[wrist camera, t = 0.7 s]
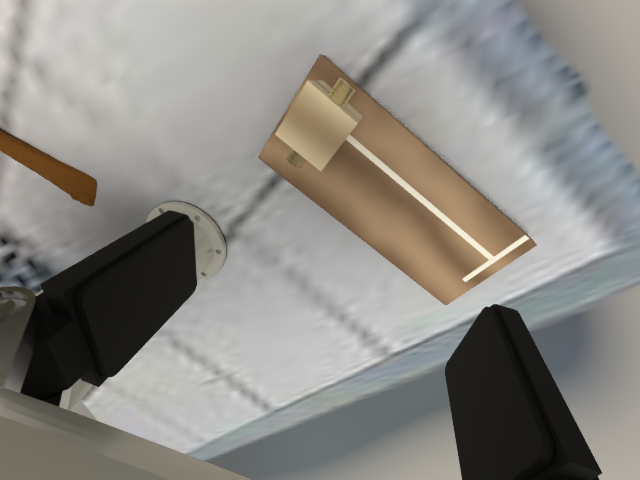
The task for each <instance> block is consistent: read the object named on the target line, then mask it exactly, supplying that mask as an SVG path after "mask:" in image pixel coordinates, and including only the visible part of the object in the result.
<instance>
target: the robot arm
mask: <svg viewBox="0 0 640 480" xmlns="http://www.w3.org/2000/svg"><path fill="white" fill-rule="evenodd" d="M225 259H226V244H225V240H224V237H223V235H222V233H221V231H220V229H219V228H218V227H217V225H216V224H215V222H214V221H213V220H212V219H211V218H210V217H209V216H208V215H206V214H205V213H204V212H203V211H201V210H200V209H198V208H196V207H194V206H192V205H189V204H187V203H183V202H166V203H163V204H161V205H159V206H157V207H156V208H154V209H153V210H152V211H151V212H150V213H149V214H148V217H147V219H146V223H145V224H144V225H142V226H140V227H138V228H137V229H135V230H133V231H132V232H130V233H128V234H126V235H125V236H123V237H121V238H119V239H118V240H116V241H114V242H113V243H111V244H109V245H107V246H106V247H104V248H102V249H100V250H99V251H97V252H95V253H94V254H92V255H90V256H88V257H87V258H85V259H83V260H82V261H80V262H78V263H76V264H75V265H73V266H71V267H69V268H68V269H66V270H64V271H63V272H61V273H59V274H57V275H56V276H54V277H52V278H50V279H49V280H47V281H45V282H44V283H42V284H40V285H41V287H42V290H41V291H40V292H39V293H38V294H37V295H35V294H34V292H33V291H32V290H30V289H28V288H25V287H18V286H8V287H0V480H251V479H249V478H246V477H243V476H241V475H238V474H236V473H233V472H230V471H228V470H225V469H222V468H220V467H217V466H215V465H212V464H209V463H206V462H204V461H202V460H199V459H196V458H194V457H191V456H189V455H186V454H183V453H181V452H178V451H175V450H173V449H170V448H167V447H165V446H162V445H159V444H157V443H154V442H152V441H149V440H146V439H144V438H141V437H138V436H136V435H133V434H130V433H128V432H125V431H122V430H120V429H117V428H114V427H112V426H109V425H106V424H104V423H101V422H98V421H96V420H93V419H91V418H88V417H85V416H83V415H80V414H77V413H74V412H72V410H73V409H74V407H75V406H76V404H77V403H78V402H79V401H80V399H81V398H82V397H83V396H84V395H85V393H86V392H87V391H88V390H89V389H90V387H91V386H92V385H95V386H98V387H99V386H100V385H101V384H102V383H103V382H104V381H105V380H106V379H107V378H108V377H113V376H114V375H116V374H117V373H118V372H119V371H120V370H121V369H122V368H123V367H124V366H125V365H126V364H127V363H128V362H129V361H130V360H131V358H132V357H133V356H134V355H135V354H136V353H137V352H138V351H139V350H140V349H141V348H142V347H143V346H144V345H145V344H146V343H147V342H148V341H149V339H150V338H151V337H152V336H153V335H154V334H155V333H156V332H157V331H158V330H159V329H160V328H161V327H162V326H163V325H164V324H165V323H166V321H167V320H168V319H169V318H170V317H171V316H172V315H173V314H174V313H175V312H176V311H177V310H178V309H179V308H180V307H181V306H182V305H183V303H184V302H185V301H186V300H187V299H188V298H189V297H190V296H191V295H192V294H193V293H194V291H195V289H196V286H197V278H198V279H200V278H207V277H210V276H212V275H213V274H215V273H216V272H217V271H218V270H219V269H220V268H221V267H222V265H223V264H224V261H225ZM445 376H446V382H447V389H448V395H449V401H450V407H451V413H452V419H453V425H454V431H455V438H456V444H457V450H458V456H459V463H460V469H461V475H462V480H599V478H598V475H600V474H601V473H602V472H601V470H600V468H599V466H598V464H597V462H596V460H595V458H594V456H593V455H592V453H591V451H590V449H589V447H588V445H587V443H586V441H585V439H584V437H583V435H582V433H581V431H580V429H579V428H578V426H577V424H576V422H575V420H574V418H573V416H572V414H571V412H570V410H569V408H568V406H567V404H566V402H565V400H564V399H563V397H562V395H561V393H560V391H559V389H558V387H557V385H556V383H555V381H554V379H553V378H552V375H551V373H550V372H549V370H548V368H547V366H546V364H545V362H544V360H543V358H542V356H541V354H540V352H539V350H538V349H537V347H536V345H535V343H534V341H533V339H532V337H531V335H530V333H529V331H528V329H527V327H526V325H525V323H524V321H523V320H522V318H521V316H520V314H519V312H518V311H516V310H514V309H511V308H507V307H504V306H500V305H497V304H493V305H492V306H491V307H485V308H484V309H483V310H482V311H481V313H480V314H479V316H478V317H477V319H476V320H475V322H474V323H473V325H472V326H471V328H470V329H469V331H468V332H467V334H466V335H465V337H464V338H463V340H462V341H461V343H460V344H459V346H458V347H457V349H456V350H455V352H454V353H453V354H452V356H451V357H450V359H449V360H448V362H447V364H446V368H445Z"/></svg>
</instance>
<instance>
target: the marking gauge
mask: <svg viewBox="0 0 640 480" xmlns="http://www.w3.org/2000/svg"><path fill="white" fill-rule="evenodd" d="M354 92H355V90H354V89H353V88H352V87H351V86H350V85H349V84H348V83H347V82H346V81H344V80H343V79H342V78H339V79H338V81H337V82H336V84H335V85H334V87H333V88H331V87H330V86H329V85H328V84H327V83H326V82H325V81H323V80H307V82H306V84H305V85H304V87H303V89H302V90H301V92H300V94H299V95H298V97H297V98H296V100H295V102H294V103H293V105H292V107H291V108H290V110H289V112H288V113H287V115H286V117H285V118H284V120H283V122H282V123H281V125H280V126H279V128H278V130H277V131H276V133H275V135H276V136H277V137H279V138H280V139H281V140H282V141H284V142H285V143H286V144H287V145H289V146H290V147H291V148H292V150H291V152H290V153H289V155H288V156H287V158H286V159H287V161H288V162H289V163H290V164H291V165H292V166H294V167H296V168H301V167H302V165H303V164H304V163H305V161H306V160H307V161H308V162H310V163H311V164H312V165H313V166H314V167H316V168H317V169H318V170H319V171H322V169H323V168H324V167H325V166H326V164H327V163H328V162H329V160H330V159H331V158H332V157H333V155H334V154H335V153H336V151H337V150H338V149H339V147H340V146H341V145H342V144H343V142H344V141H345V140H346V138H347V137H348V136H349V134H350V133H351V132H352V130H353V129H354V128H355V127H356V125H357V124H358V123H359V121H360V120H361V119H362V117H363V116H364V115H363V114H361V113H360V112H359V111H358V110H357V109H356V108H355V107H353V106H352V105H351V104H350V103H349V102H348V101H349V99H350V98H351V97H352V95H353V94H354Z"/></svg>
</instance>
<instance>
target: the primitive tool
mask: <svg viewBox="0 0 640 480" xmlns="http://www.w3.org/2000/svg"><path fill="white" fill-rule="evenodd" d="M0 151H2V152H3V153H5V154H6V155H8V156H10V157H11V158H13V159H15V160H16V161H18V162H20V163H21V164H23V165H25V166H26V167H28V168H29V169H31V170H33V171H35V172H36V173H38V174H39V175H41V176H42V177H44V178H45V179H47V180H49V181H50V182H52V183H53V184H55V185H56V186H58V187H59V188H60V189H62V190H64V191H65V192H66V193H68V194H70V196H71V197H72V199H74V200H78V201H80V202H81V203H82V204H85V205H89V206H93V205H94V201H95V197H96V190H97V181H96V180H95V179H94V178H92V177H90V176H89V175H87V174H85V173H83V172H81V171H79V170H77V169H75V168H73V167H70V166H68V165H66V164H64V163H62V162H60V161H58V160H56V159H54V158H52V157H51V156H49V155H46V154H44V153H42V152H41V151H39V150H37V149H35V148H33V147H31V146H29V145H27V144H25V143H24V142H22V141H20V140H18V139H15V138H13V137H11V136H9V135H8V134H6V133H4V132H2V131H1V130H0Z"/></svg>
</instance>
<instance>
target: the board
mask: <svg viewBox="0 0 640 480" xmlns="http://www.w3.org/2000/svg"><path fill="white" fill-rule="evenodd" d="M339 78H342V79H343V80H344V81H346V82H347V83H348V84H349V85H350V86H351V87H352V88H353V89H354V90H355V92H354V94H353V95H352V97H351V98H350V99H349V101H348V102H349V103H350V104H351V105H352V106H353V107H355V108H356V109H357V110H358V111H359V112H360V113H361V114H363V115H364V116H363V117H362V119H361V120H360V121H359V123H358V124H357V125H356V127H355V128H354V129H353V130H352V132H351V133H350V134H349V136H348V137H347V138H346V140H345V141H344V142H343V144H342V145H341V146H340V147H339V149H338V150H337V151H336V153H335V154H334V155H333V157H332V158H331V159H330V160H329V162H328V163H327V164H326V166H325V167H324V168H323V169H322V171H319V170H318V169H317V168H316V167H314V166H313V165H312V164H311V163H310V162H308V161H307V160H306V161H305V163H304V164H303V165H302V167H301V168H296V167H294V166H292V165H291V164H290V163H289V162H288V161H287V159H286V158H287V156H288V155H289V153H290V152H291V150H292V148H291V147H290V146H289V145H287V144H286V143H285V142H284V141H282V140H281V139H280V138H279V137H277V136H276V135H275V133H276V131H277V130H278V128H279V126H280V125H281V123H282V122H283V120H284V118H285V117H286V115H287V113H288V112H289V110H290V108H291V107H292V105H293V103H294V102H295V100H296V98H297V97H298V95H299V94H300V92H301V90H302V89H303V87H304V85H305V84H306V82H307V80H323V81H325V82H326V83H327V84H328V85H329V86H330V87H331V88H333V87H334V85H335V84H336V82H337V81H338V79H339ZM258 158H259V159H260V160H262V161H263V162H264V163H265V164H267V165H268V166H269V167H270V168H272V169H273V170H274V171H276V172H277V173H278V174H279V175H281V176H282V177H283V178H284V179H286V180H287V181H288V182H290V183H291V184H292V185H293V186H295V187H296V188H297V189H298V190H300V191H301V192H302V193H303V194H305V195H306V196H307V197H309V198H310V199H311V200H312V201H314V202H315V203H316V204H317V205H319V206H320V207H321V208H323V209H324V210H325V211H326V212H328V213H329V214H330V215H331V216H333V217H334V218H335V219H336V220H338V221H339V222H340V223H342V224H343V225H344V226H345V227H347V228H348V229H349V230H350V231H352V232H353V233H354V234H356V235H357V236H358V237H359V238H361V239H362V240H363V241H364V242H366V243H367V244H368V245H370V246H371V247H372V248H373V249H375V250H376V251H377V252H378V253H380V254H381V255H382V256H383V257H385V258H386V259H387V260H389V261H390V262H391V263H392V264H394V265H395V266H396V267H397V268H399V269H400V270H401V271H403V272H404V273H405V274H406V275H408V276H409V277H410V278H411V279H413V280H414V281H415V282H416V283H418V284H419V285H420V286H422V287H423V288H424V289H425V290H427V291H428V292H429V293H430V294H432V295H433V296H434V297H436V298H437V299H438V300H439V301H441V302H442V303H443V304H444V305H448V304H449V303H451V302H452V301H454V300H455V299H457V298H458V297H460V296H461V295H463V294H464V293H466V292H467V291H469V290H470V289H472V288H473V287H475V286H476V285H478V284H479V283H481V282H482V281H484V280H485V279H487V278H488V277H490V276H491V275H493V274H494V273H496V272H497V271H499V270H500V269H502V268H503V267H505V266H506V265H508V264H509V263H511V262H512V261H514V260H515V259H517V258H518V257H520V256H521V255H523V254H524V253H526V252H527V251H529V250H530V249H532V248H533V247H535V246H537V245H536V243H535V242H534V241H533V240H532V239H531V238H530V237H529V236H528V234H527V233H525V232H524V231H523V230H522V229H521V228H520V227H519V226H517V225H516V224H515V223H514V222H513V221H512V220H511V219H510V218H508V217H507V216H506V215H505V214H504V213H503V212H502V211H500V210H499V209H498V208H497V207H496V206H495V205H494V204H493V203H491V202H490V201H489V200H488V199H487V198H486V197H485V196H483V195H482V194H481V193H480V192H479V191H478V190H477V189H476V188H474V187H473V186H472V185H471V184H470V183H469V182H468V181H466V180H465V179H464V178H463V177H462V176H461V175H460V174H459V173H457V172H456V171H455V170H454V169H453V168H452V167H451V166H449V165H448V164H447V163H446V162H445V161H444V160H443V159H442V158H440V157H439V156H438V155H437V154H436V153H435V152H434V151H432V150H431V149H430V148H429V147H428V146H427V145H426V144H425V143H423V142H422V141H421V140H420V139H419V138H418V137H417V136H415V135H414V134H413V133H412V132H411V131H410V130H409V129H408V128H406V127H405V126H404V125H403V124H402V123H401V122H400V121H398V120H397V119H396V118H395V117H394V116H393V115H392V114H391V113H389V112H388V111H387V110H386V109H385V108H384V107H383V106H381V105H380V104H379V103H378V102H377V101H376V100H375V99H374V98H372V97H371V96H370V95H369V94H368V93H367V92H366V91H364V90H363V89H362V88H361V87H360V86H359V85H358V84H357V83H355V82H354V81H353V80H352V79H351V78H350V77H349V76H347V75H346V74H345V73H344V72H343V71H342V70H341V69H340V68H338V67H337V66H336V65H335V64H334V63H333V62H332V61H330V60H329V59H328V58H327V57H326V56H324V55H321V54H320V55H319V57H318V59H317V60H316V62H315V64H314V65H313V67H312V69H311V70H310V72H309V74H308V75H307V77H306V79H305V80H304V82H303V84H302V85H301V87H300V89H299V90H298V92H297V94H296V95H295V97H294V99H293V100H292V102H291V104H290V105H289V107H288V108H287V110H286V112H285V113H284V115H283V117H282V118H281V120H280V122H279V123H278V125H277V127H276V128H275V130H274V132H273V133H272V135H271V137H270V138H269V140H268V142H267V143H266V145H265V147H264V148H263V150H262V152H261V153H260V155H259V157H258Z"/></svg>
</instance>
